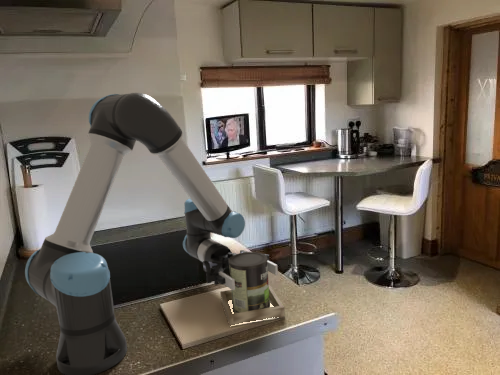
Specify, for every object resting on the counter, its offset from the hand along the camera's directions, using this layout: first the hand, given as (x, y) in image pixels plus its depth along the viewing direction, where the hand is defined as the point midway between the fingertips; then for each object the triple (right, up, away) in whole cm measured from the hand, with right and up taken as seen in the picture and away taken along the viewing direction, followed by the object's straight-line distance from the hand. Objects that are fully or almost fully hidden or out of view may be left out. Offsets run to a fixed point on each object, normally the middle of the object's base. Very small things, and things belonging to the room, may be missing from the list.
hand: (255, 277), depth 109 cm
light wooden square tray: (-1, -10, +5) cm, 11 cm away
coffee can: (-1, -9, +5) cm, 11 cm away
